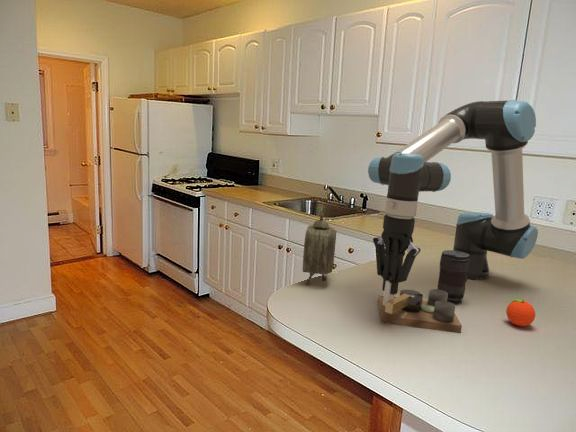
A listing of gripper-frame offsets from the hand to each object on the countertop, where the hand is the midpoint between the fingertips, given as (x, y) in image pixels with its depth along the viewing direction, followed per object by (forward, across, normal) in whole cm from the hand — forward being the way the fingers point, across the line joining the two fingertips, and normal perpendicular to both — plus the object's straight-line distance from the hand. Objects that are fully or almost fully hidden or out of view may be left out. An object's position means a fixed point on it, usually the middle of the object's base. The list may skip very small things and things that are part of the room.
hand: (387, 304), depth 109 cm
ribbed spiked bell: (+6, -33, +7) cm, 34 cm away
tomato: (+5, +21, +30) cm, 37 cm away
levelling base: (+5, +2, +11) cm, 12 cm away
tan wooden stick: (+3, +1, +5) cm, 6 cm away
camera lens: (+5, +1, +31) cm, 31 cm away
